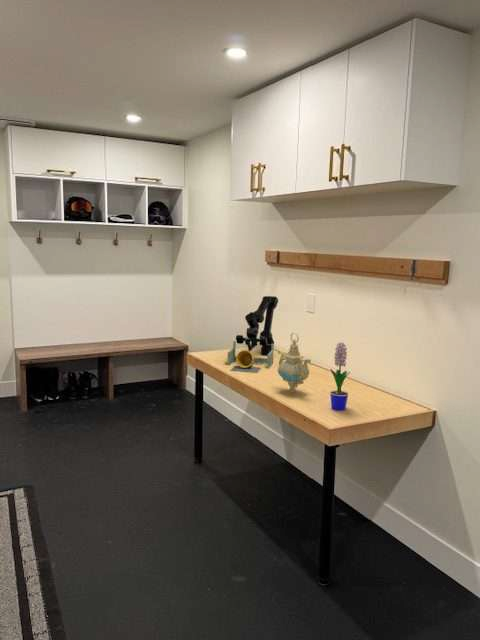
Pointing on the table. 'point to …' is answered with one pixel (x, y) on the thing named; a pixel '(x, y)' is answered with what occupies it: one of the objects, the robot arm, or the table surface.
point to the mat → (246, 369)
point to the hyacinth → (339, 379)
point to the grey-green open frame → (265, 360)
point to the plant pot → (245, 359)
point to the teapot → (293, 366)
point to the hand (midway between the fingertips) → (249, 351)
